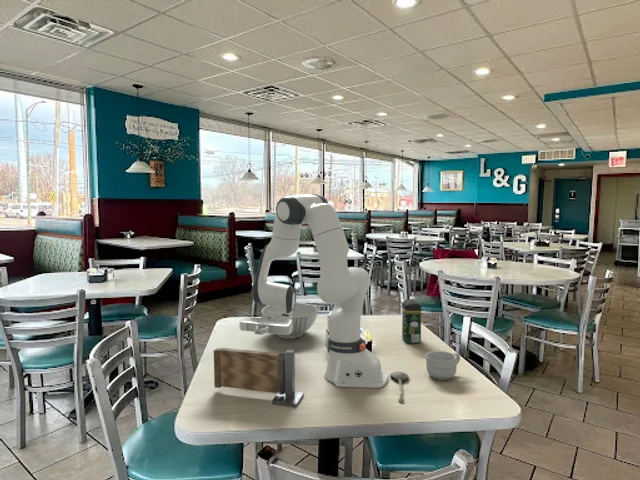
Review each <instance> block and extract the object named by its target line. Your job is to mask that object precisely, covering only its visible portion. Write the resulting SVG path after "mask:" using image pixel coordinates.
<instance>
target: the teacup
mask: <svg viewBox="0 0 640 480" xmlns="http://www.w3.org/2000/svg"><path fill="white" fill-rule="evenodd" d="M460 360H461V356H460V354H459V353H457V352H453V353H452V352H449V351H445V350H437V351H436V350H435V351H430V352H426V354H425V364H426V365H425V366H426V371H427V374H428V375H430V376H431V378H433V379H434V380H439V381H446V380H451V379H452V377H455V375H456V373H457V366H458V364H459V363H460Z"/></svg>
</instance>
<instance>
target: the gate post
mask: <svg viewBox="0 0 640 480" xmlns="http://www.w3.org/2000/svg"><path fill="white" fill-rule="evenodd" d="M295 351H296V350H294V349H287V350H286V351H285V352H284V353H285V394H279V392H278V393H276V395H275V396H274V397H273V399H272V401H271V405H275V406H276V405H277V406H285V407H290V406H291V408H297V407H298V405H299V404H300V402H301V400H302V399H303V398H304V396H305V394H304V392H301V391H296V371H295V370H296V368H295V367H296V364H295V363H296V360H295V359H296V358H295V357H296V355H295V353H296V352H295Z"/></svg>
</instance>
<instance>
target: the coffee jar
mask: <svg viewBox="0 0 640 480" xmlns="http://www.w3.org/2000/svg"><path fill="white" fill-rule="evenodd" d="M401 308H402V310H401V311H402V322H401V323H402V325H401V329H402V330H401V337H402V340H403V341H404V343H408V344H414V345H416V344H418V343H421V341H422V304H421V303H420V302H419V301H417V300H416V299H415V298H412V299H411V298H410V299H409V298H408V299H407V298H406V299H405V300H403V301H402V307H401Z"/></svg>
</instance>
